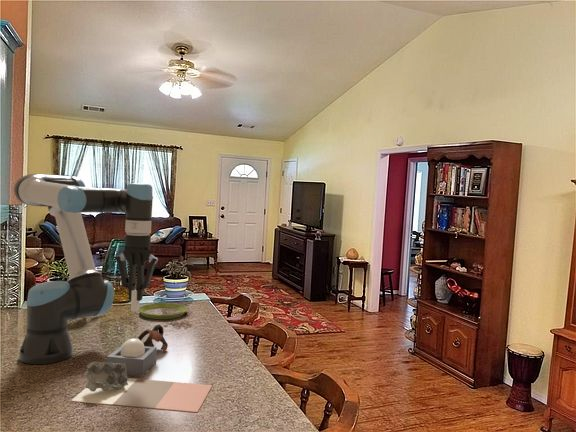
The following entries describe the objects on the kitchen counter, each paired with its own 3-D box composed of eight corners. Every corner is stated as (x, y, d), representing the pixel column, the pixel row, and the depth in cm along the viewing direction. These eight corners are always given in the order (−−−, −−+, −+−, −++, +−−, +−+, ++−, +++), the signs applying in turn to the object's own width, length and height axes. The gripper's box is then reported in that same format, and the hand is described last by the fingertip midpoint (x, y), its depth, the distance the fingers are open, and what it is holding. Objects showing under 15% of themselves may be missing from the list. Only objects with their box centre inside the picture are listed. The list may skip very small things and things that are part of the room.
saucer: (180, 323, 188) (180, 316, 187) (131, 320, 188) (131, 313, 188) (191, 311, 208) (191, 304, 208) (147, 308, 208) (147, 301, 208)
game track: (70, 401, 115) (70, 400, 115) (100, 376, 131) (100, 375, 131) (197, 412, 113) (197, 411, 113) (212, 385, 129) (212, 385, 129)
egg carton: (84, 392, 117) (89, 382, 116) (83, 368, 123) (88, 358, 121) (124, 393, 123) (130, 383, 122) (122, 370, 129) (127, 361, 127)
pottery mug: (164, 359, 150) (147, 345, 146) (144, 365, 154) (127, 352, 150) (175, 330, 159) (160, 316, 155) (157, 337, 163) (141, 323, 159)
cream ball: (116, 364, 135) (117, 341, 135) (126, 356, 142) (127, 334, 142) (139, 366, 135) (140, 343, 134) (147, 358, 142) (148, 336, 141)
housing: (106, 373, 133) (107, 356, 133) (122, 359, 144) (123, 344, 144) (142, 376, 133) (143, 359, 132) (155, 362, 144) (156, 347, 143)
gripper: (111, 233, 133) (108, 312, 134) (154, 236, 132) (151, 315, 133) (122, 231, 141) (119, 306, 142) (163, 234, 140) (160, 309, 141)
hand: (135, 310), depth 138 cm, fingers closed
